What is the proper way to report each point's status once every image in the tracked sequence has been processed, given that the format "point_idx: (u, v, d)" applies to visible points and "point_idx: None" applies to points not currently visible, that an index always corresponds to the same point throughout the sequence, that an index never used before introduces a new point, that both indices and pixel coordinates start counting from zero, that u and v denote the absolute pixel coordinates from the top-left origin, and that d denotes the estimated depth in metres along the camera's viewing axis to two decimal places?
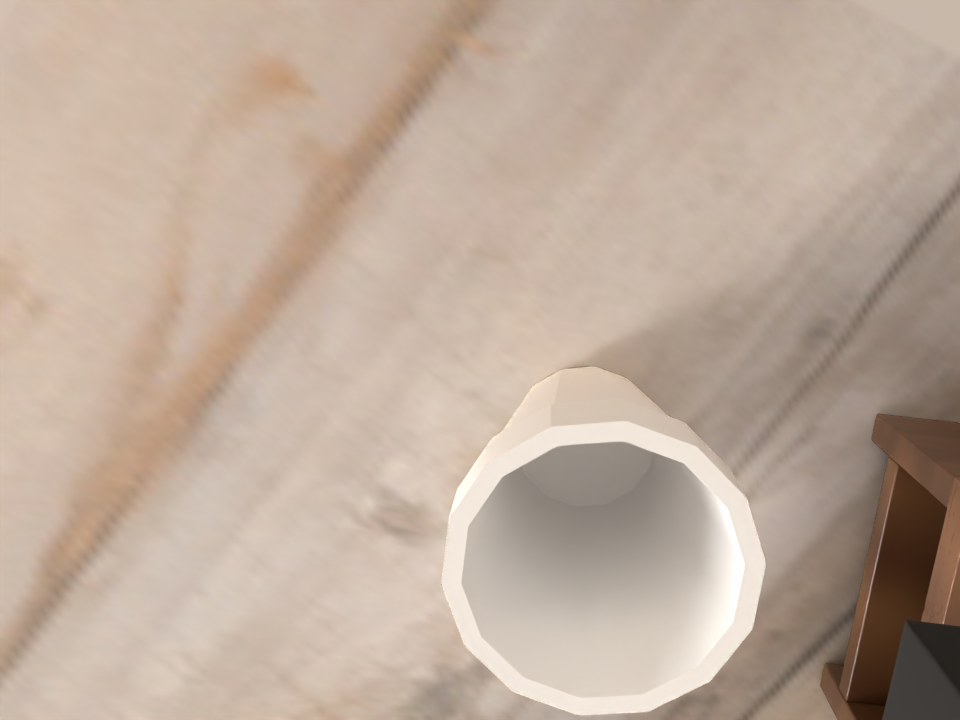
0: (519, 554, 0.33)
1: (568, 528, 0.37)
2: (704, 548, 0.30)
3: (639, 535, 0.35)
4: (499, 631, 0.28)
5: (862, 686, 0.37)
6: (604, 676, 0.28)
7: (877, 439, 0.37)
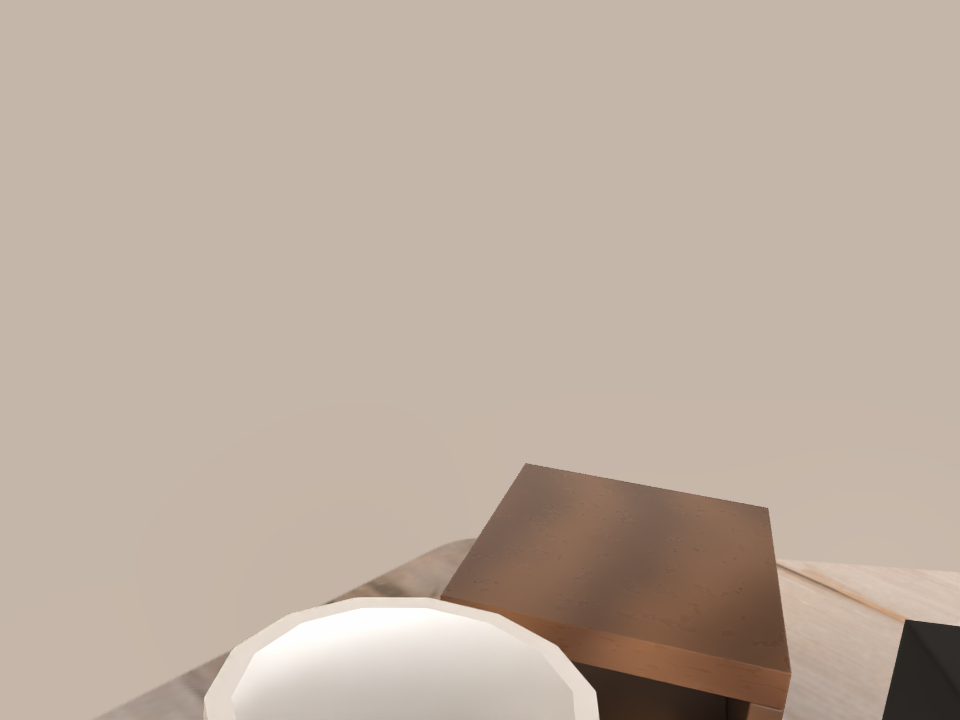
0: None
1: None
2: None
3: None
4: None
5: None
6: None
7: None
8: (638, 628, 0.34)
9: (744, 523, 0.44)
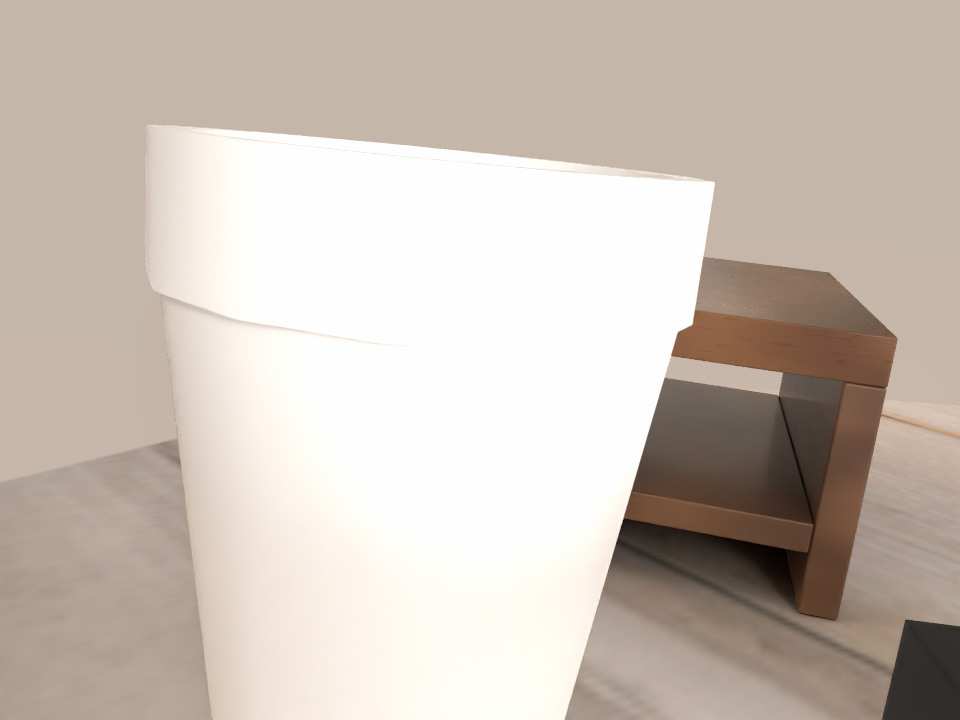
0: None
1: None
2: None
3: None
4: None
5: (785, 512, 0.28)
6: None
7: None
8: (703, 307, 0.28)
9: (806, 276, 0.38)
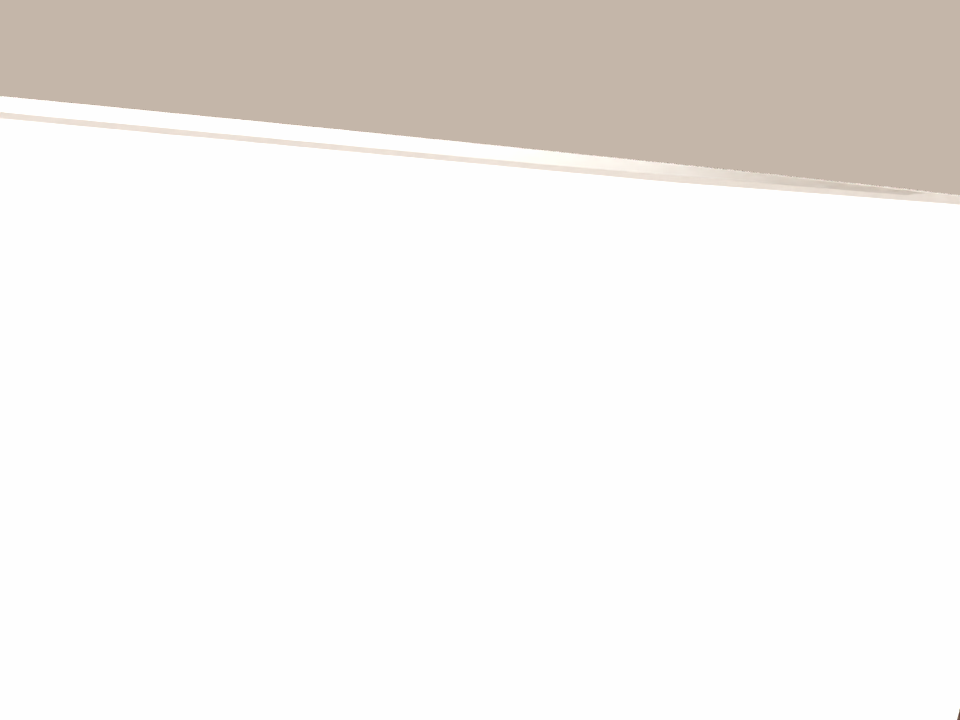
0: None
1: None
2: None
3: None
4: None
5: None
6: None
7: None
8: None
9: None
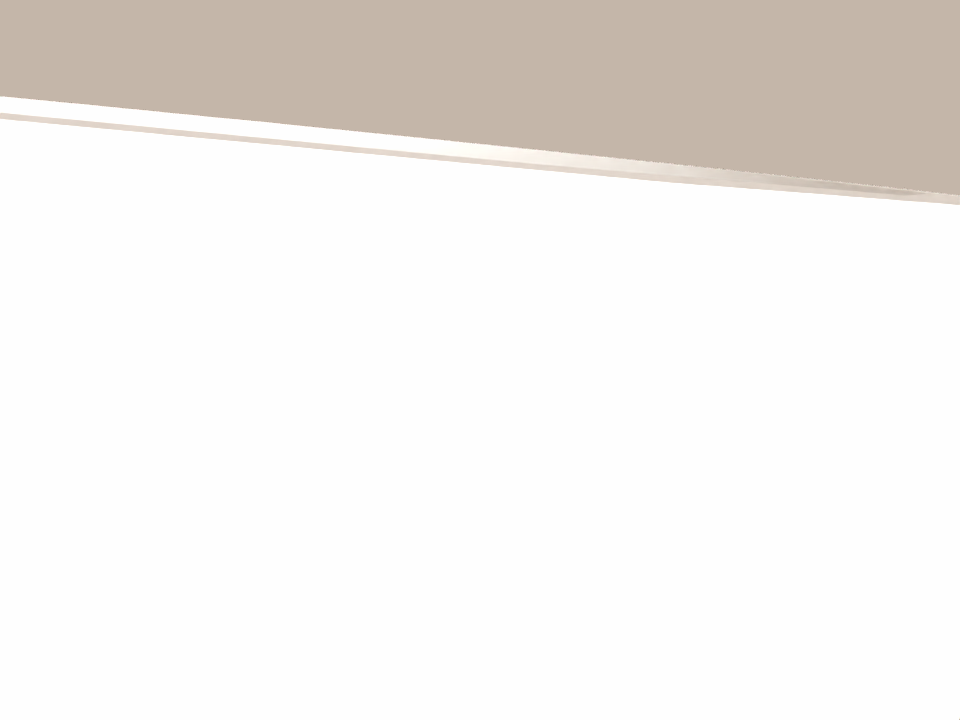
0: None
1: None
2: None
3: None
4: None
5: None
6: None
7: None
8: None
9: None
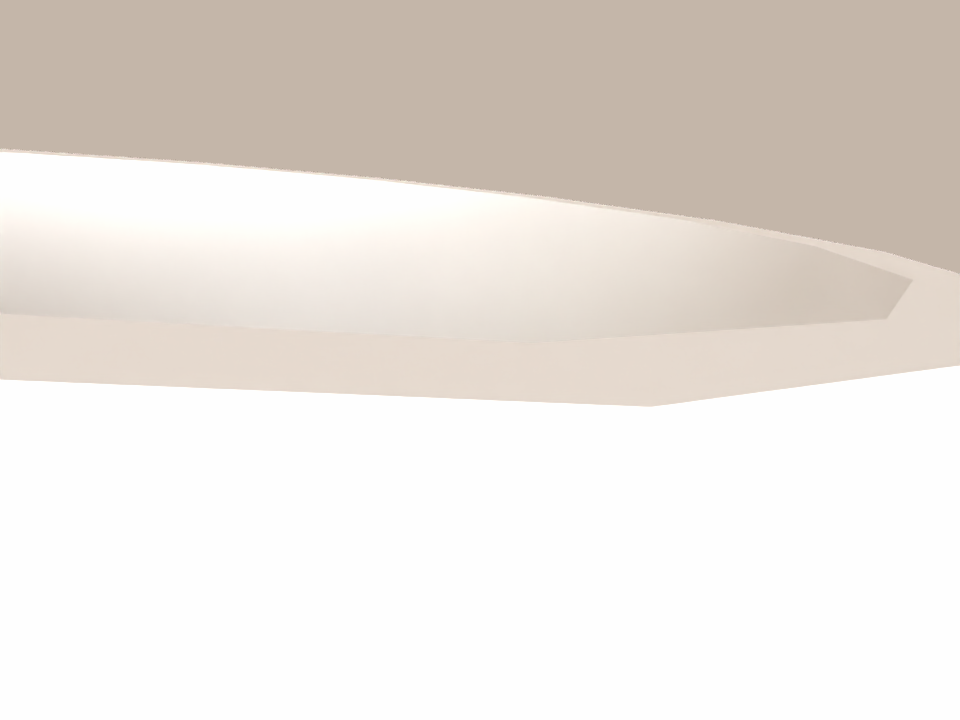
0: None
1: None
2: None
3: None
4: None
5: None
6: None
7: None
8: None
9: None
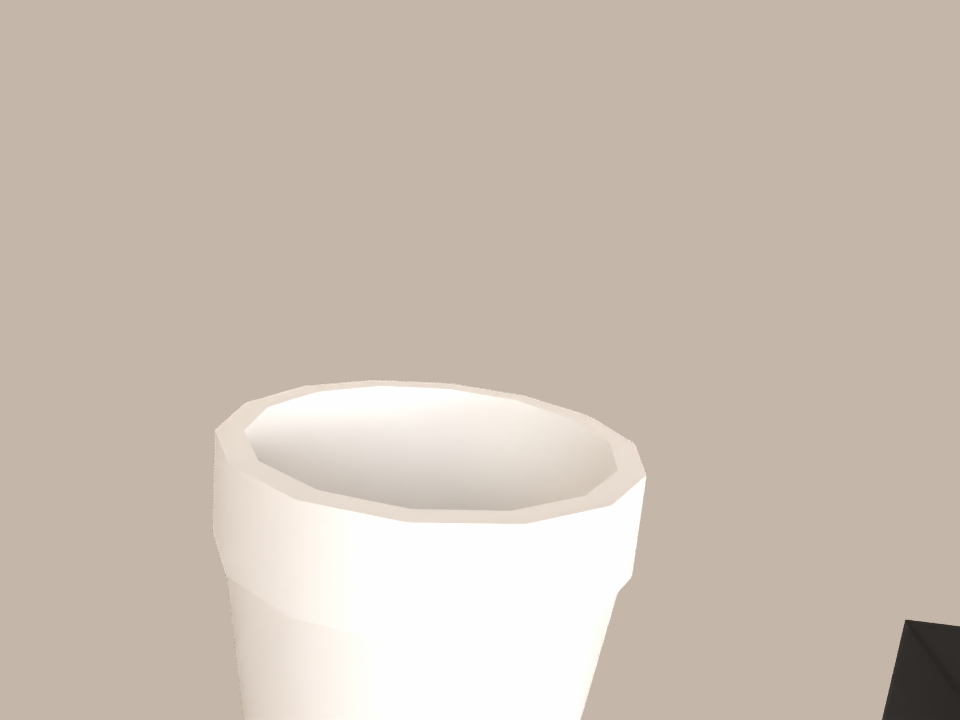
0: None
1: None
2: None
3: None
4: None
5: None
6: None
7: None
8: None
9: None
